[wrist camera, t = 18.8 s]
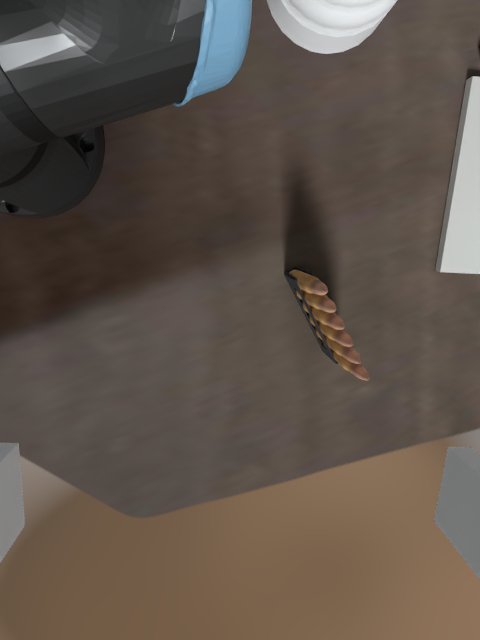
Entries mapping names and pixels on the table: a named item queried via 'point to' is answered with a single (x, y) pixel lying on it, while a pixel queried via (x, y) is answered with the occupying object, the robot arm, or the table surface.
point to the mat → (463, 192)
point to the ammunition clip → (325, 320)
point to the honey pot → (328, 21)
